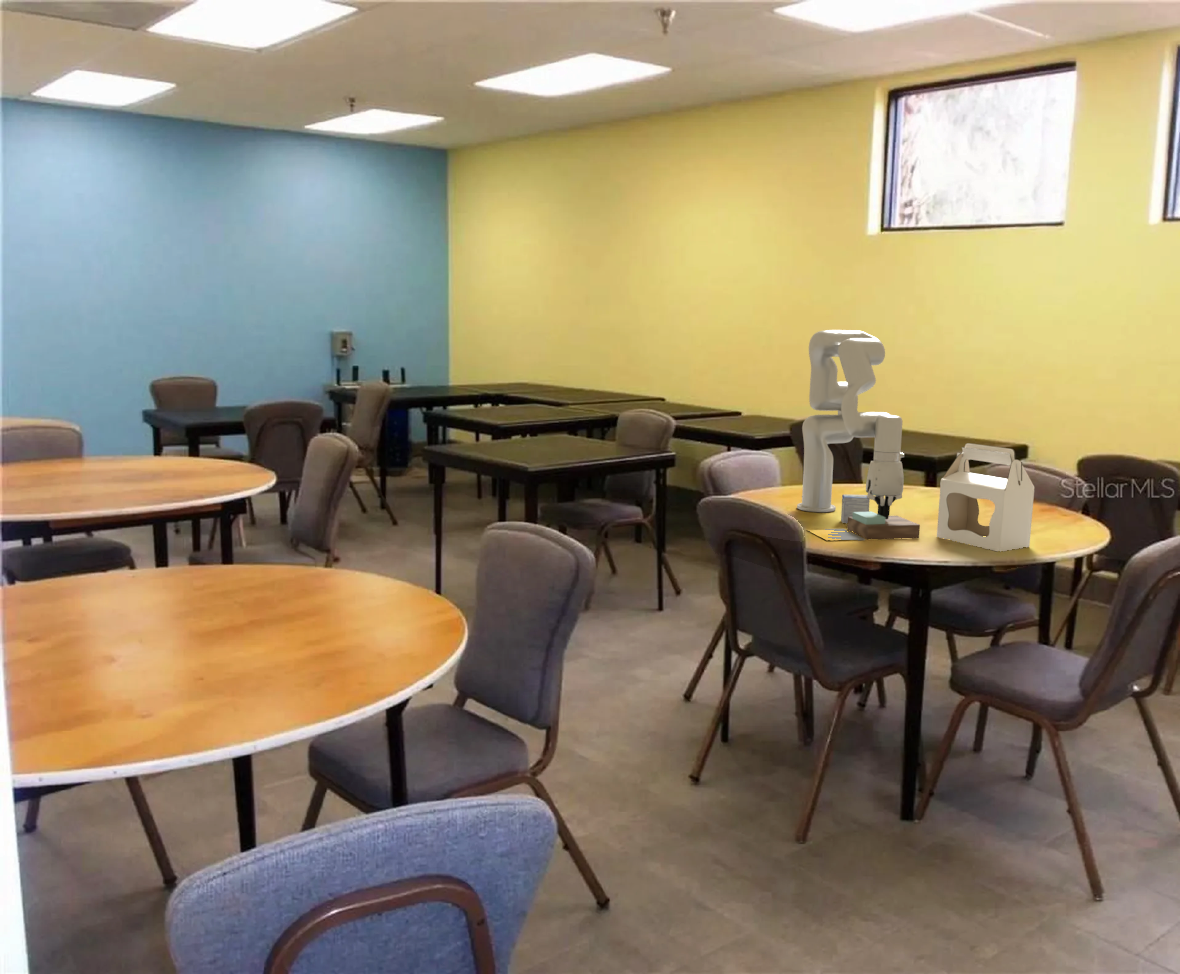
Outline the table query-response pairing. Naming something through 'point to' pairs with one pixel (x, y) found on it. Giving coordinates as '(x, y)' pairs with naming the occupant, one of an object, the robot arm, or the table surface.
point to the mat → (845, 535)
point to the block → (868, 518)
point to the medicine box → (853, 505)
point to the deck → (885, 528)
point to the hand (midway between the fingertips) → (883, 518)
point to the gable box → (1007, 495)
